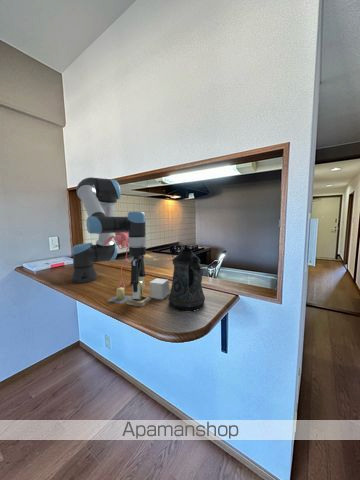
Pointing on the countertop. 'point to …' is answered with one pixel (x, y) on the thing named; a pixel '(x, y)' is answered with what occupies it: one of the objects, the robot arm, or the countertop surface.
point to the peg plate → (120, 296)
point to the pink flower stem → (123, 241)
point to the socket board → (139, 303)
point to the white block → (159, 288)
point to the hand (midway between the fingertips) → (138, 293)
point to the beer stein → (186, 283)
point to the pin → (140, 291)
